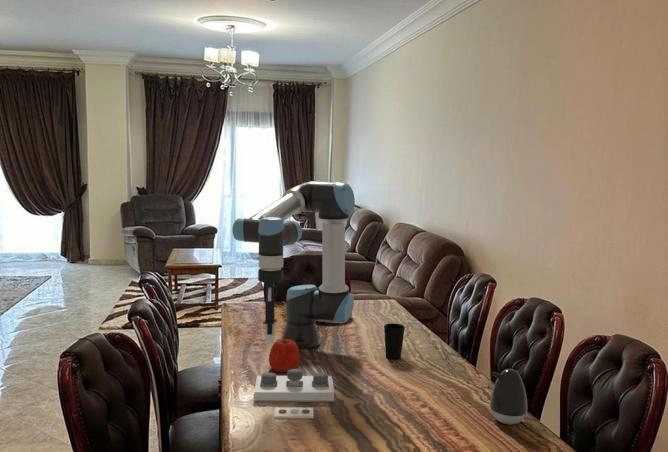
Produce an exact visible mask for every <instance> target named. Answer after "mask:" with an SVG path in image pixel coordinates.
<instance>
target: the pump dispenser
mask: <svg viewBox="0 0 668 452" xmlns="http://www.w3.org/2000/svg"><path fill="white" fill-rule="evenodd" d="M491 375H492V377H495V378H497V379H496V381H495V383H494V386H493V388H492V392H491V397H490V400H489V401H490V402H489V407H490V410H491V414H492V416H493V417H494V419H496V421H498V422H499V423H501V424H505V425H517V424H520V423H521V422H522V421H523V419H524V418H525V416H526V414H527V413H528V399H527V398H528V397H527V393H526V387H525V384H524V382H523V379H522V377H521V375H520V373H519V372H518V371H517V370H515V369H512V368H505V369H504V370H503V371H501V372H500V373H498V372H496V371H493V372H491Z"/></svg>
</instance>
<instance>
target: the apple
mask: <svg viewBox="0 0 668 452" xmlns="http://www.w3.org/2000/svg"><path fill="white" fill-rule="evenodd" d="M269 351H270V352H269V353H268V362H269V366H270V368H271V369H273V370H274V371H275V372H277V373H287V372H288V370H290V369H299V366H300V359H301V355H300V349H298V347H297V345H296V343H295V342H294V341H292V340H290V339H284V340H282V339H278V340H276V341H274V344H272V346H271V349H270V350H269Z"/></svg>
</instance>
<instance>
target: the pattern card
mask: <svg viewBox="0 0 668 452" xmlns="http://www.w3.org/2000/svg"><path fill="white" fill-rule="evenodd" d="M314 416H315V415H314V407H274V419H315V417H314Z"/></svg>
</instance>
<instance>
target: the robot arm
mask: <svg viewBox="0 0 668 452" xmlns="http://www.w3.org/2000/svg"><path fill="white" fill-rule="evenodd" d="M355 200H356V199H355V194H354V191H353V188H352V187H351V185H350V184H348V183H345V182H339V181H313V180H312V181H307V182H302V183H300V184H297V185H296V186H293V187H290V188H289V189H287V190H286V191H285V192H284V193H283V194H282V197H279V199H277V200H276V201H274V202H272V203H270V205H267V206H266V207H265V208H263V209H262V210H260V211H258V212H257V213H256V214H254V215H252V216H251V217H248V218H245V217H242V218H236V219H235V220H234V222H233V224H232V236H233V238H234V240H236V241H237V242H238V241H239V242H244V243H257V244H258V257H256V261H258V264H257V265H258V268H259V269H258V270H257V272H258V273H257V278H258V279H257V281H259V282H260V283H263V284H264V283H265V284H266V285H265V286H263V295H264V296H263V297H264V300H263V301H264V303H265V305H264V306H265V313H264V315H265V321H263V322H262V323H263V325H265V327H264V328H265V333H264V339H265V340H264V345H273V344H274V343H275V323H277V319H275V317H276V316H275V303H276V301H277V300H276V299H277V293H278V286H277V285H276V286H275V283H276V284H277V283H281V282H283V280H284V270H283V268H284V247H286V246H290V245H294V244H295V243H298V242H299V241H300V240H301V239H302V236H303V228H302V226H301V224H300V223H299V222H297V221H295V220H288V219H289V218H291V217H292V216H293V215H299V214H301V213H303V212H304V213H305V212H307V213H308V212H309V213H318V215H317V217H318V220H320V222H321V223H322V224H321V225H322V226H321V227H322V234H321V235H322V236H321V237H322V238H321V239H322V241H321V242H322V248H321V249H322V255H321V256H322V261H321V262H322V263H321V264H322V284H320V286H318V287H317V286H316V285H315V284H302V285H301V284H300V285H295V286H294V285H293V286H291V287H290V288H288V290H287V292H286V299H285V300H286V310H285V311H286V312H285V313H286V314H285V315H286V317H285V319H286V321H285V322H286V323H285V327H284V330H283V334H282V335H281V340H284V339H290V340H292V341H294V342H295V343H296V345H297V347H298V349H299V350H301V349H303V350H305V349H312V348H316V347H317V346H319V345H320V336H319V333H318V329H317V326H316V325H317V322H316V320H320V321H327V322H333V323H332V324H345V323H346V322H348V321H349V319H351V318H350V316H351V314H352V315H353V311H354V305H355V297H354V294H352V293H350V289H349V286H348V285H347V284H346V279H345V278H346V222H347V221H348V220H349V219H350V215H352V214H354V211H355V207H356V206H355V205H356V201H355Z"/></svg>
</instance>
